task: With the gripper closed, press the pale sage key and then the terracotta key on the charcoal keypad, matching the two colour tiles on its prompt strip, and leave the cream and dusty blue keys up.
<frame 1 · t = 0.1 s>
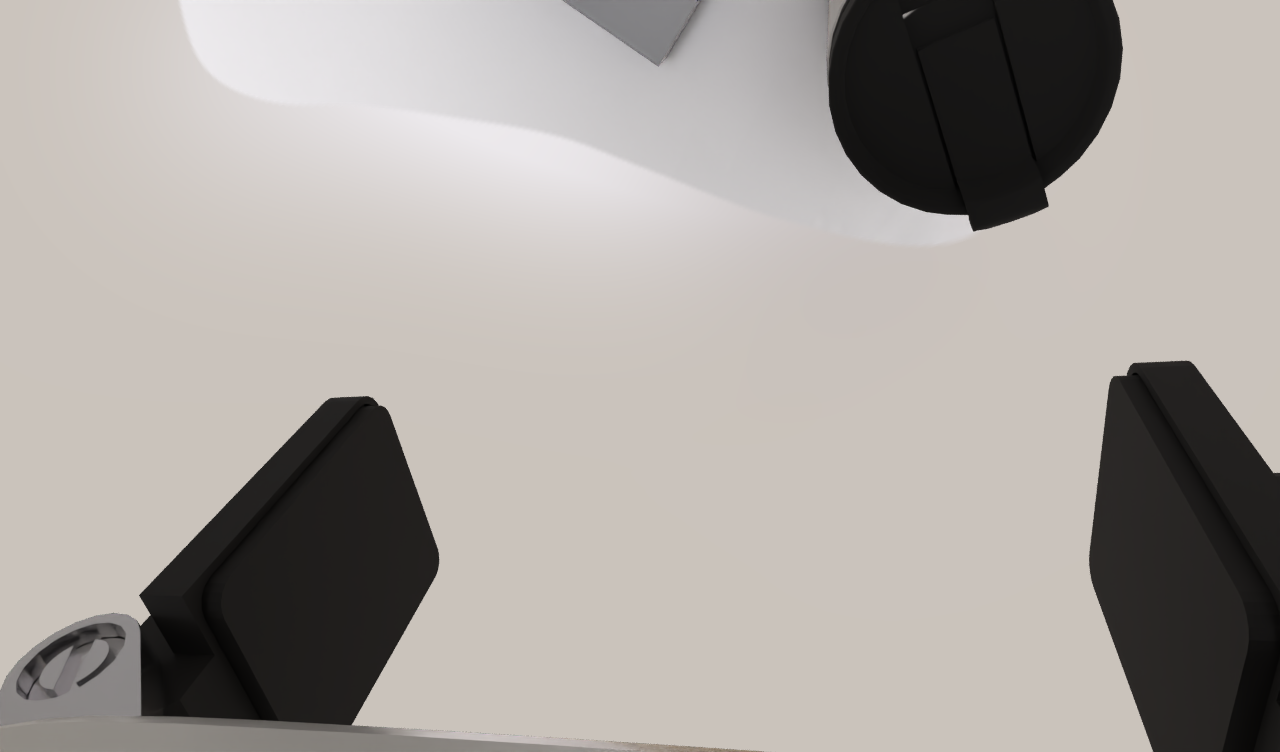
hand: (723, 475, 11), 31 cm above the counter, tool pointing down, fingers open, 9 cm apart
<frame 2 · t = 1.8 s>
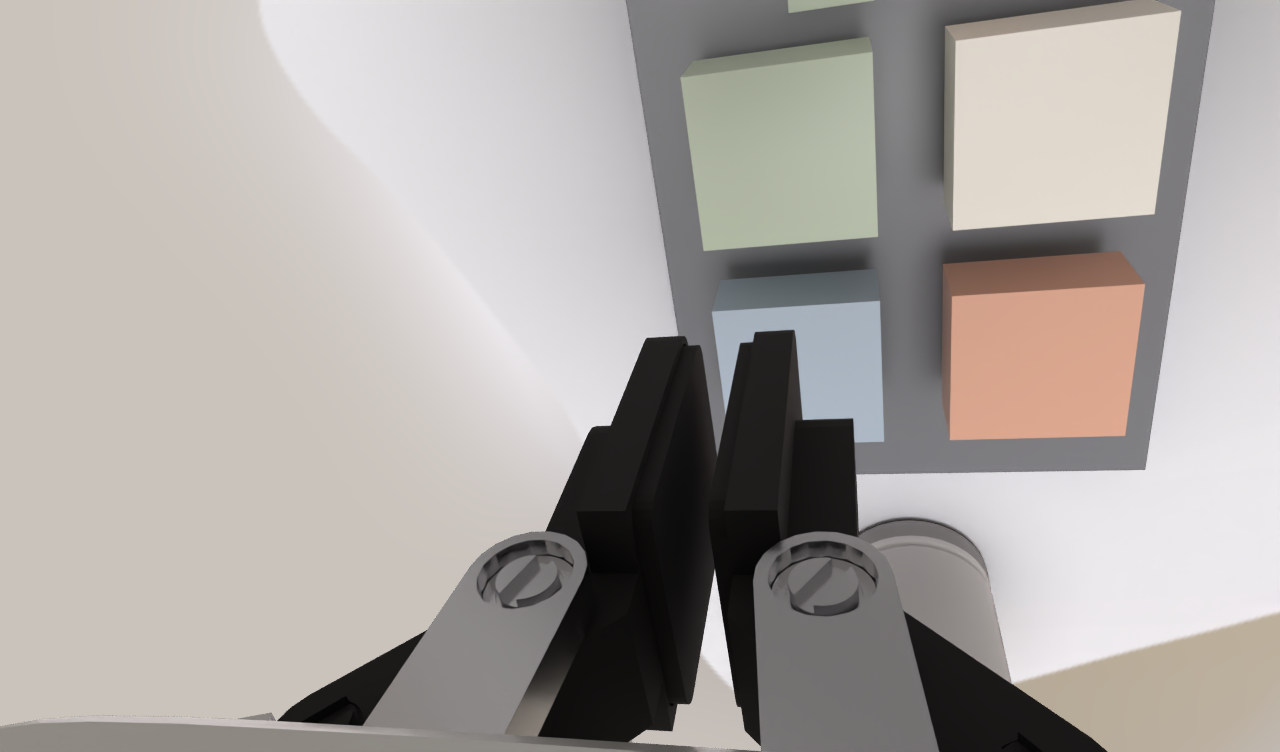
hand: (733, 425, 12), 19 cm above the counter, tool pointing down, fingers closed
travel mug: (907, 572, 37), on the counter
key cream: (1047, 118, 23), point 4 cm above the counter, slide at 0.0 cm
key blue: (801, 359, 28), point 4 cm above the counter, slide at 0.0 cm
keypad board: (901, 201, 29), on the counter
key terracotta: (1032, 348, 26), point 4 cm above the counter, slide at 0.0 cm
key sage: (783, 147, 25), point 4 cm above the counter, slide at 0.0 cm
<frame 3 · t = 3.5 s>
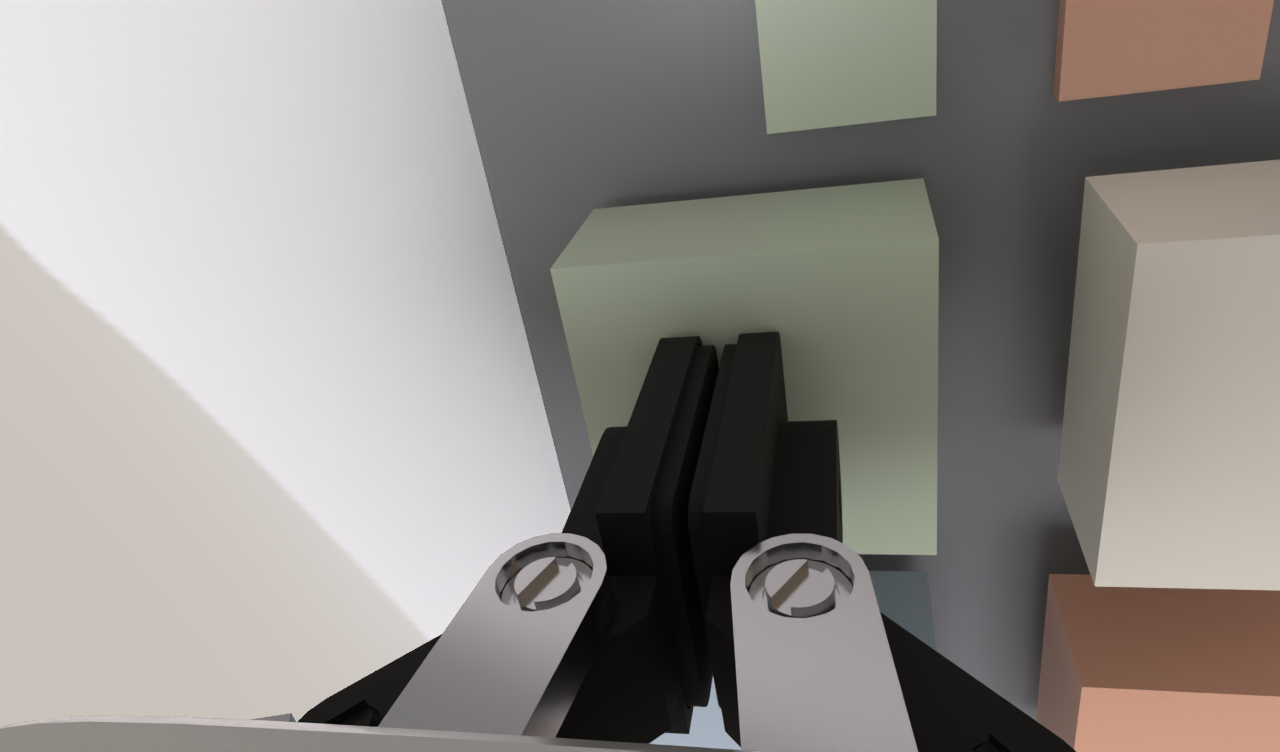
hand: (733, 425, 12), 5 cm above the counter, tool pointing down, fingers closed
key blue: (791, 713, 16), point 4 cm above the counter, slide at 0.0 cm
keypad board: (965, 421, 17), on the counter
key terracotta: (1216, 740, 14), point 4 cm above the counter, slide at 0.0 cm
key sage: (759, 376, 13), point 4 cm above the counter, slide at 0.6 cm, touching gripper
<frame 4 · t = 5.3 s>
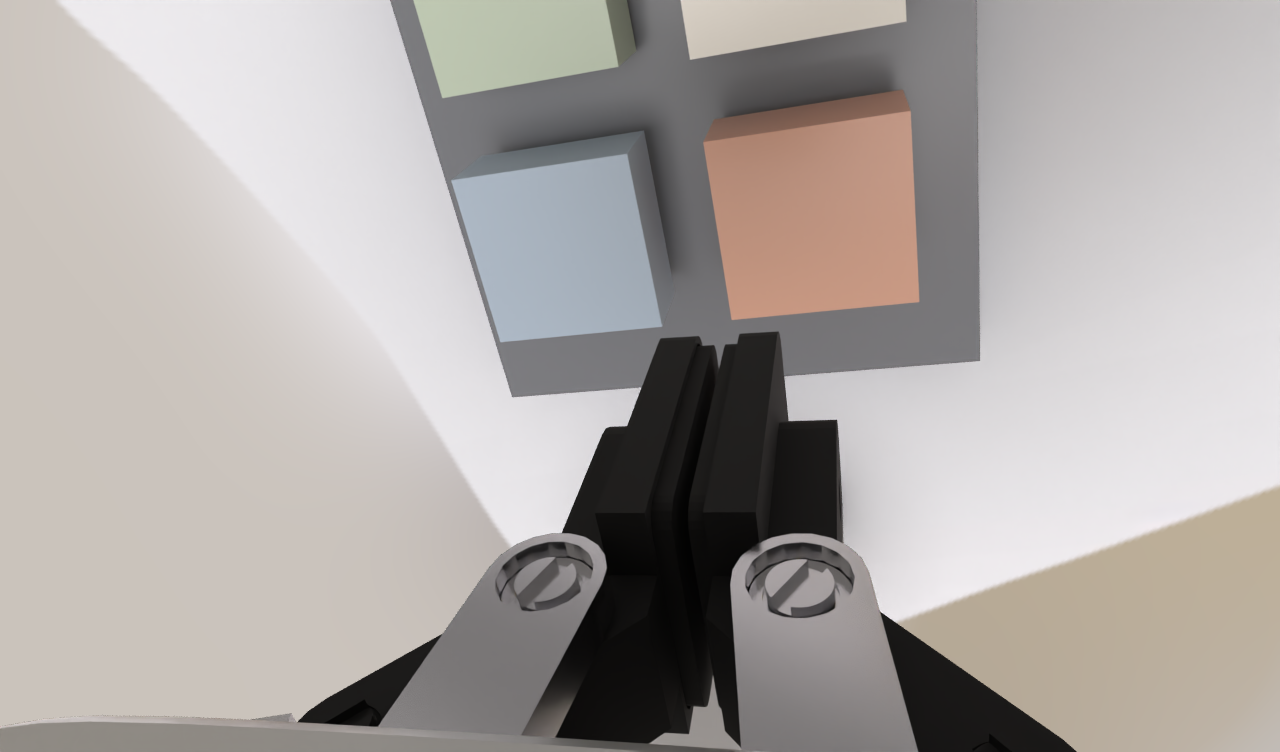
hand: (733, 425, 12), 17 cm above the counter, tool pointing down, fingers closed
travel mug: (760, 503, 34), on the counter
key blue: (569, 239, 25), point 4 cm above the counter, slide at 0.0 cm
keypad board: (688, 65, 26), on the counter
key terracotta: (814, 208, 23), point 4 cm above the counter, slide at 0.0 cm
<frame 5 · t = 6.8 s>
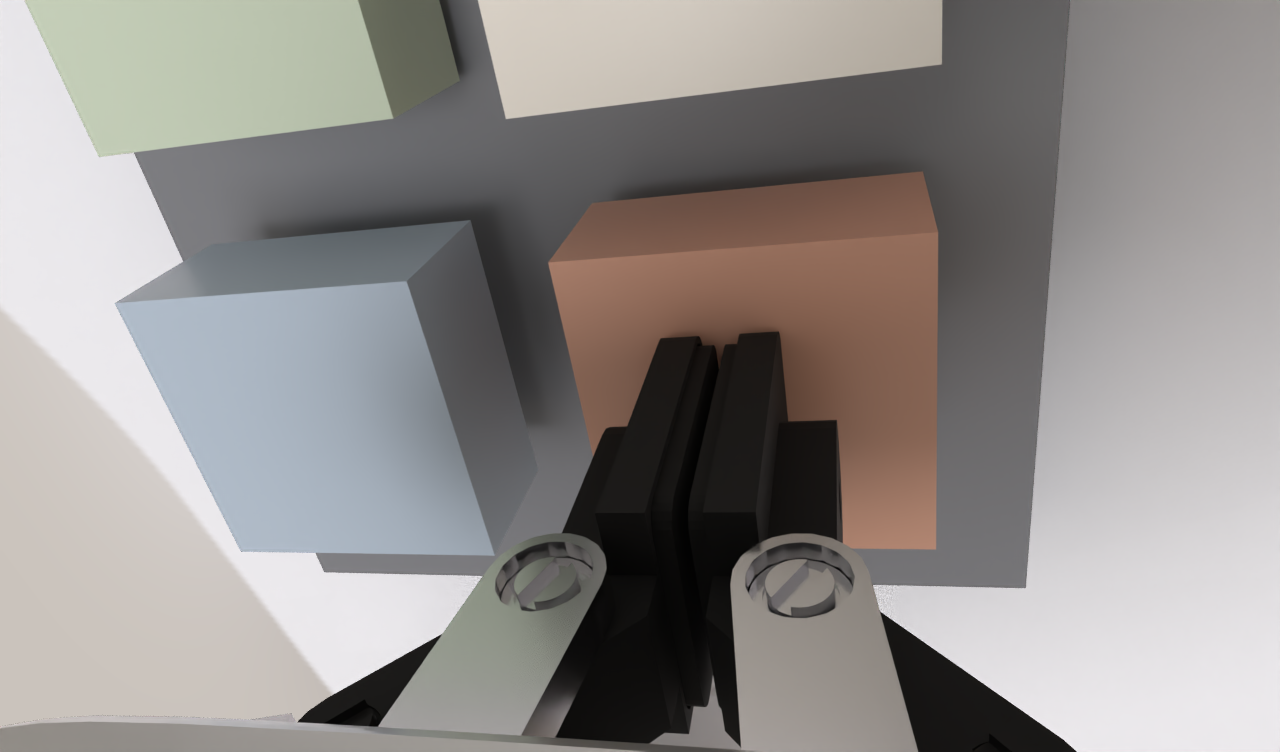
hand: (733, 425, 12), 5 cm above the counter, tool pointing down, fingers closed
travel mug: (693, 708, 24), on the counter
key blue: (349, 395, 15), point 4 cm above the counter, slide at 0.0 cm
keypad board: (571, 101, 16), on the counter
key terracotta: (758, 370, 13), point 4 cm above the counter, slide at 0.3 cm, touching gripper
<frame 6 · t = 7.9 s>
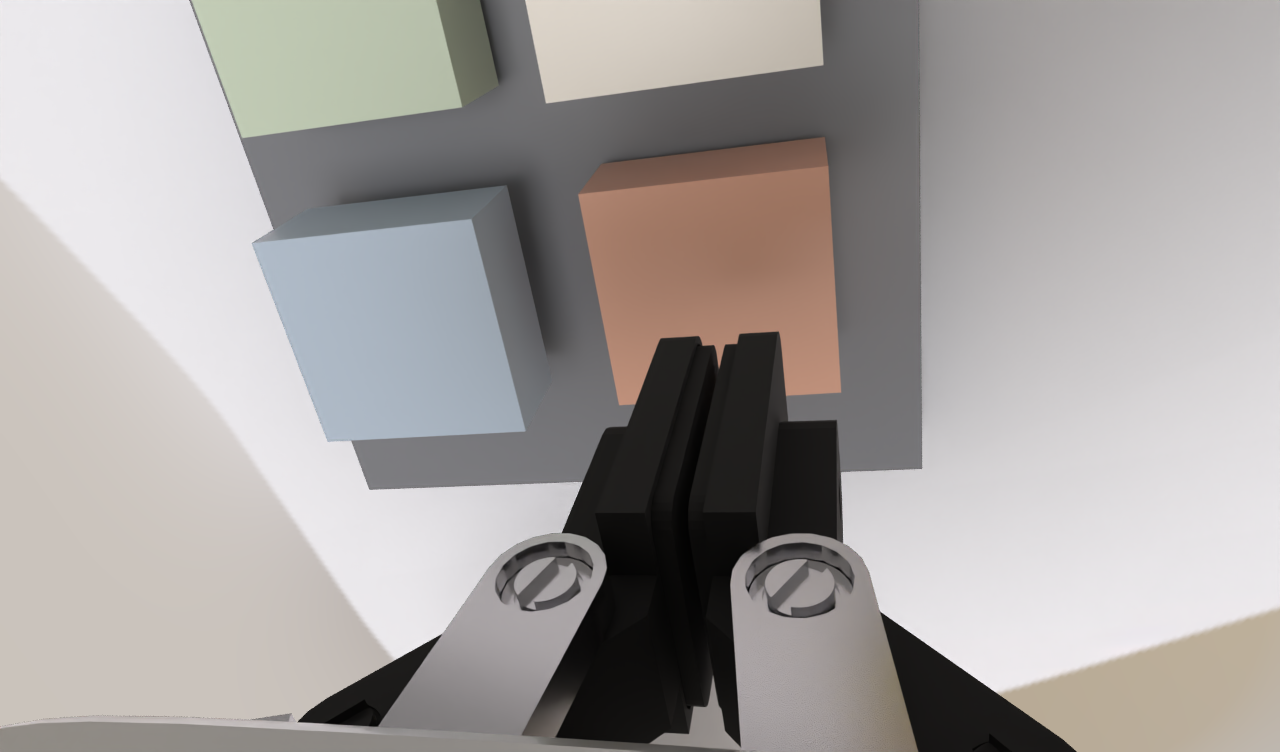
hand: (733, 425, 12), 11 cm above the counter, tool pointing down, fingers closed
travel mug: (670, 610, 29), on the counter
key blue: (414, 317, 20), point 4 cm above the counter, slide at 0.0 cm
keypad board: (574, 104, 21), on the counter
key terracotta: (718, 275, 19), point 4 cm above the counter, slide at 1.0 cm
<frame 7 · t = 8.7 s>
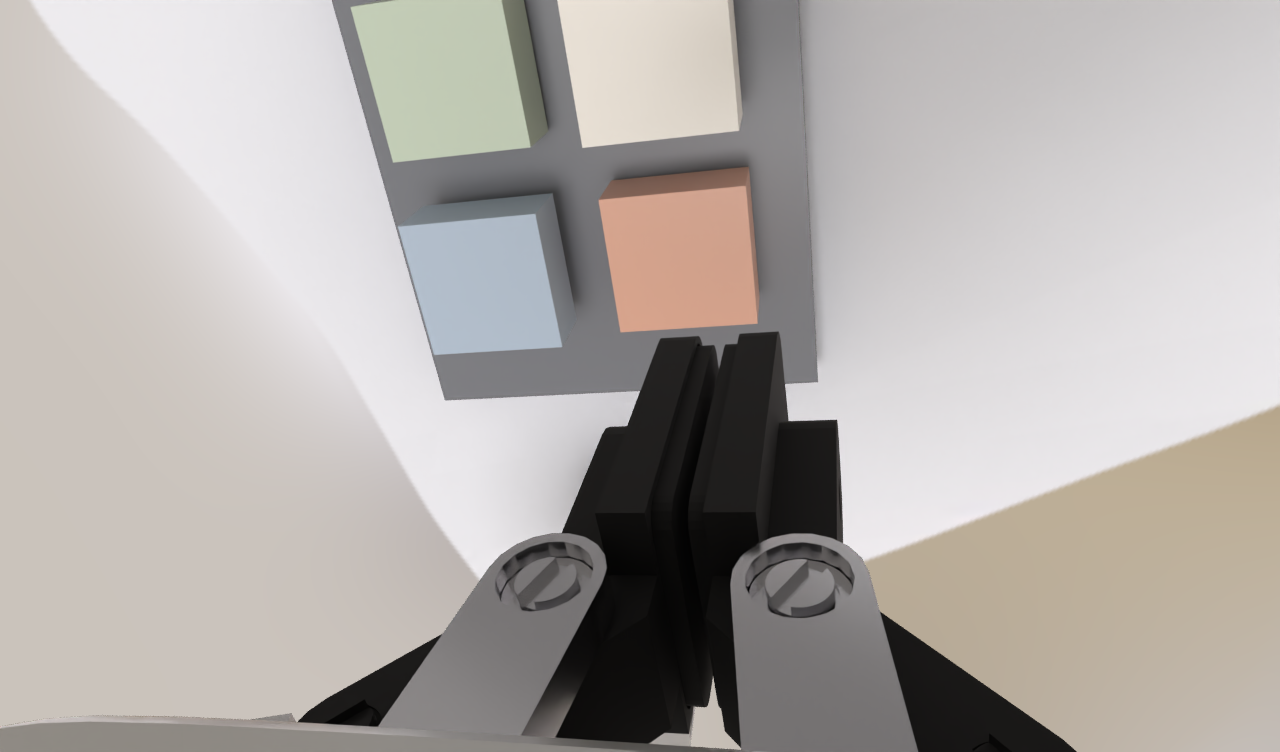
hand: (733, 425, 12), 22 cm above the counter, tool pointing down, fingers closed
travel mug: (652, 495, 41), on the counter
key cream: (653, 50, 27), point 4 cm above the counter, slide at 0.0 cm
key blue: (492, 275, 31), point 4 cm above the counter, slide at 0.0 cm
keypad board: (593, 140, 33), on the counter
key terracotta: (683, 251, 31), point 4 cm above the counter, slide at 1.0 cm
key sage: (455, 72, 29), point 4 cm above the counter, slide at 0.9 cm
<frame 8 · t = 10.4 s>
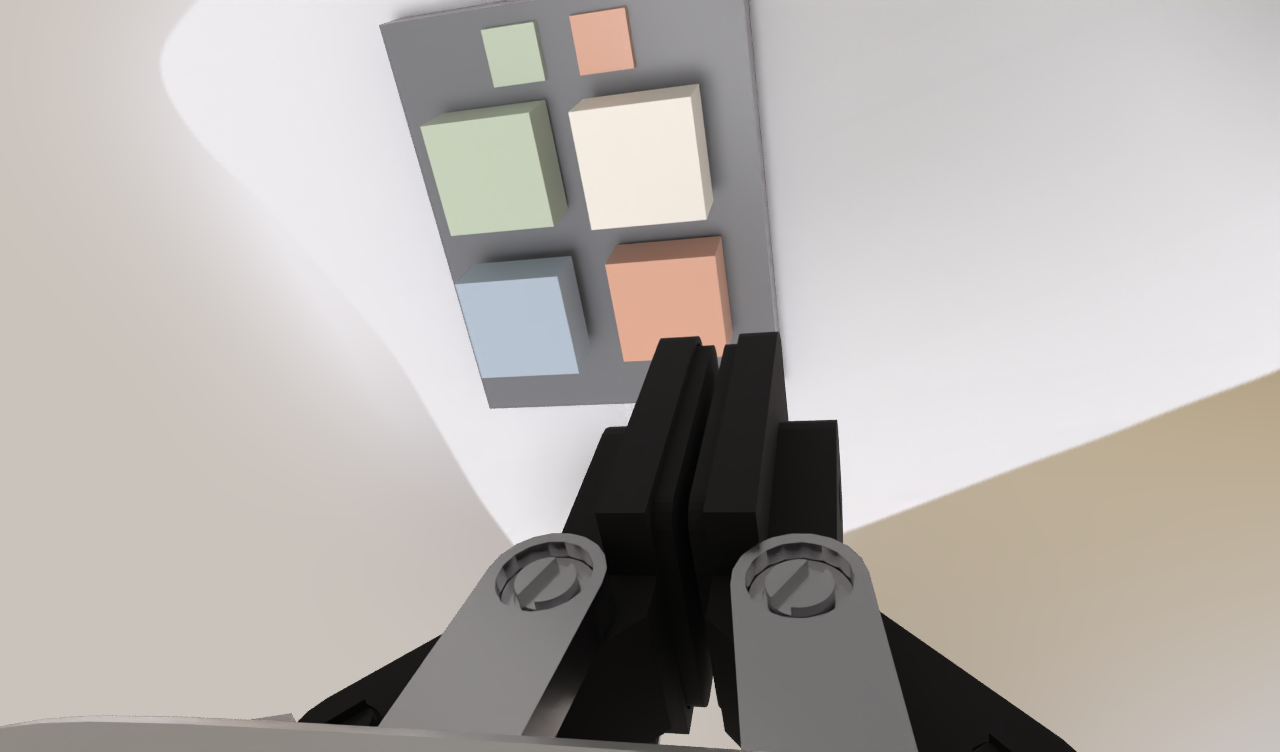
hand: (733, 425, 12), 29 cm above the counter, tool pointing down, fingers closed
key cream: (644, 158, 36), point 4 cm above the counter, slide at 0.0 cm
key blue: (525, 318, 41), point 4 cm above the counter, slide at 0.0 cm
keypad board: (603, 210, 42), on the counter
key terracotta: (671, 300, 40), point 4 cm above the counter, slide at 1.0 cm
key sage: (497, 169, 38), point 4 cm above the counter, slide at 0.9 cm
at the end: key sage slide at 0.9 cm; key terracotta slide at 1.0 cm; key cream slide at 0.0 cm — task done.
